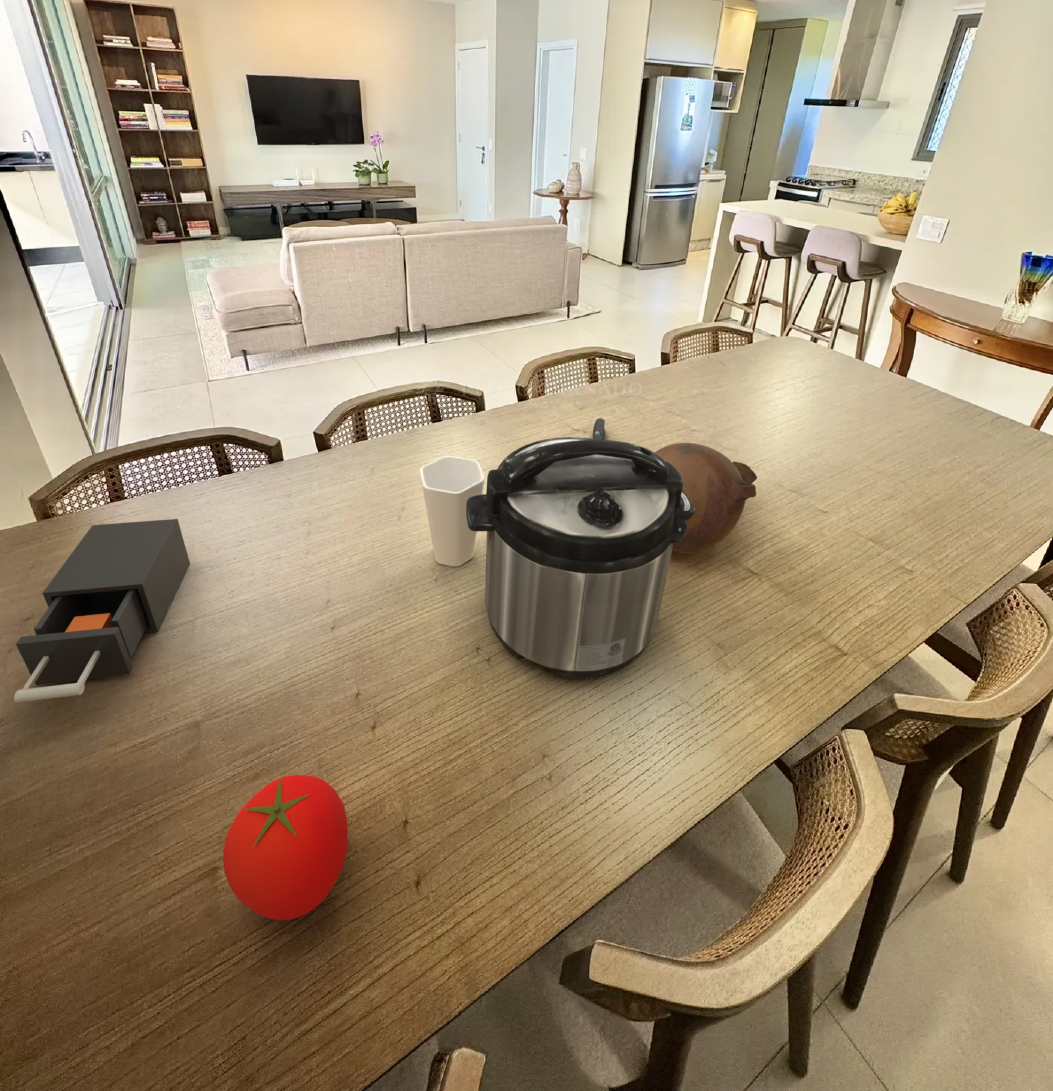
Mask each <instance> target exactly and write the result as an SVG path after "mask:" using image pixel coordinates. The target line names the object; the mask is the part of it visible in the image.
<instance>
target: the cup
mask: <svg viewBox="0 0 1053 1091" xmlns="http://www.w3.org/2000/svg"><path fill="white" fill-rule="evenodd" d="M419 475H420V476H419V477H420V481H421V487H422V492H423V498H424V504H425V510H426V516H427V522H428V528H429V532H430V538H431V543H432V545H431V546H432V550H433V554H434V559H435V562H436V563H438V564H440V565H444V566H448V567H454V568H456V567H460V566H463V565H464V564H465V563H466V562H468V561H470V560H472V559H473V557H474V555H475V549H476V540H477V535H478V531H471V530H470V529H469V527H468V523H467V517H466V503H467V500H468V498H470V497H472V496H476V495H482V494H484V487H485V486H484V485H485V480H486V477H485V475H484V472H483V470H482V467H481V465H480V462H479V461H478V460H476V459H473V458H472V459H471V458H465V457H459V456H453V455H444V456H440V457H439V458H437V459H435V460H433V461H431V462H429V463H426V464H425V465H423V466H420V468H419Z"/></svg>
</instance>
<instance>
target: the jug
mask: <svg viewBox="0 0 1053 1091" xmlns="http://www.w3.org/2000/svg"><path fill="white" fill-rule="evenodd" d="M653 452H654V453H656V454H657V455H659V456H660V457H661V458H662V459H663V460H664V461H665V462H669V463H670V464H671V465H672V466H674V467H675V469H676V470H677V471H678V472H679V473H680V475H681V477H682V481H683V488H682V490H683V491H684V492H685V494H686V495H687V496H688V497H689V499H690V500H691V502H692V504H693V506H694V508H695V514H694V515H693V516H692V517H691V518H690V519H688V520H686V521H685V522H686V524H687V530H686V534H685V537H684V539H683V540H682V541H681V542H676V543H673V548H672V552H673V551H674V552H677V553H681V554H682V553H683V554H696V553H701V552H704V551H706V550H709V549H711V548H712V547H715V546H716V545H717V544H719V543H720V542H721V541H723V540H724V539H725V538H726V537H728V535H729V534H730V533H731V532H732V531H733V530H734V529H735V528H736V525H737V524H738V523H739V520H740V518H741V516H742V514H743V511H744V508H745V505H746V502H747V500H748V499H750V498H755V497H756V496H757V488H756V487H757V486H756V485H755V484H753V483H754V482H755V481H756V480H757V479H758V476H757V474H756V473H755V472H754V471H753V470H752V469H751V467H750V466H749V465H747V464H746V463H743V462H739V461H734V460H733V461H732V460H730V458H728V456H726V455H724V454H723V453H722V452H720V451H718V450H717V449H714V448H712V447H710V446H706V445H704V444H699V443H694V442H693V443H692V442H676V443H671V444H668V445H665V446H663V447H661V448H659V449H658V450H656V451H653Z"/></svg>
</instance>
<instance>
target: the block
mask: <svg viewBox="0 0 1053 1091" xmlns="http://www.w3.org/2000/svg"><path fill="white" fill-rule="evenodd" d="M111 620H112V616H111V614H110V613H107V614H97V615H87V616H77V617H74V619H73V620H72V622H71V623H70V625H69V627H68V628H67V630H66V631H65V632H72V631H82V630H92V629H102V628H112V627H113V625H112V622H111Z"/></svg>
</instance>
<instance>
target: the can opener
mask: <svg viewBox="0 0 1053 1091" xmlns="http://www.w3.org/2000/svg"><path fill="white" fill-rule="evenodd" d="M605 425H606V422H605V419H604V418H601V417H600V418H597V419H596V420H595V422H594V424H593V427H592V428H593V429H592V439H597V440H606V429H605Z"/></svg>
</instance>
